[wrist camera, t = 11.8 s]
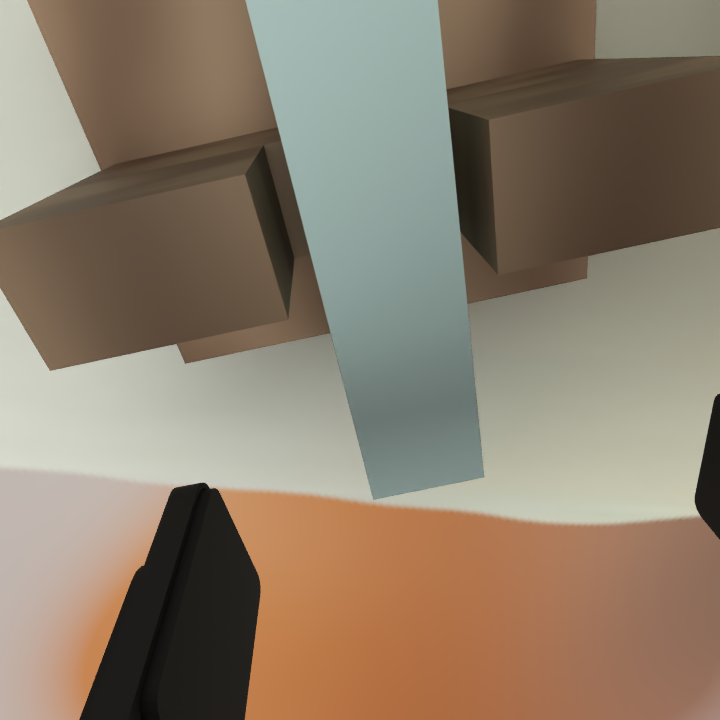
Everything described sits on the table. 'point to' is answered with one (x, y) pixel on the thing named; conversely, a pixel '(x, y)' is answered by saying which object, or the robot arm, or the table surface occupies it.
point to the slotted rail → (230, 93)
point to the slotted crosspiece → (380, 223)
